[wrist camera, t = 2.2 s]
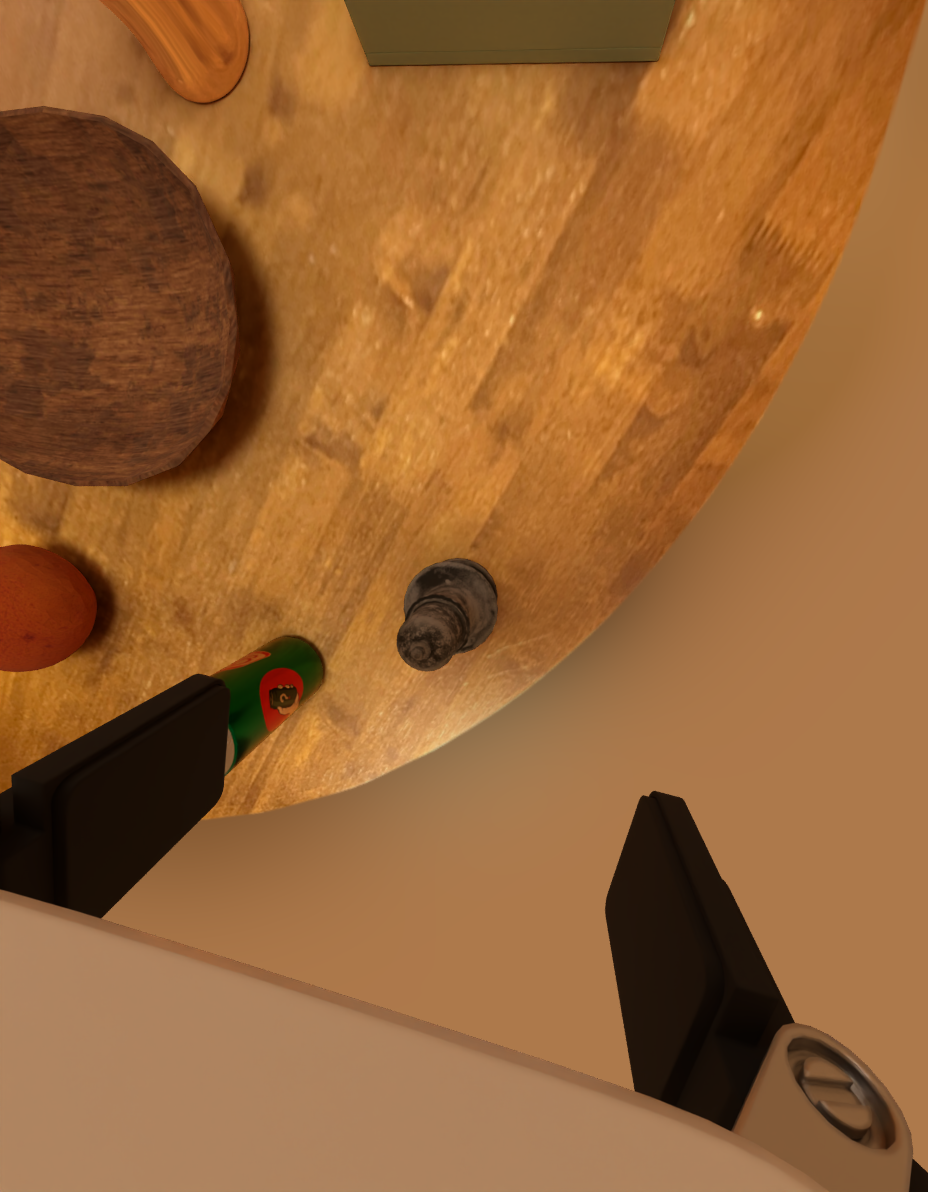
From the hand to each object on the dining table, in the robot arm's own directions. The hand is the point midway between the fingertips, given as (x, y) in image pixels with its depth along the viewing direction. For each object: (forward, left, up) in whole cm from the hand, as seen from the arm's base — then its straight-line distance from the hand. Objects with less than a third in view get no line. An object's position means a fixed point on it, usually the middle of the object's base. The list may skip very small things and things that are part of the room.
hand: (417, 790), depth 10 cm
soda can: (+15, +8, -23) cm, 28 cm away
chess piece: (+3, +1, -23) cm, 23 cm away
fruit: (+34, +5, -23) cm, 41 cm away
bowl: (+27, -14, -23) cm, 38 cm away
